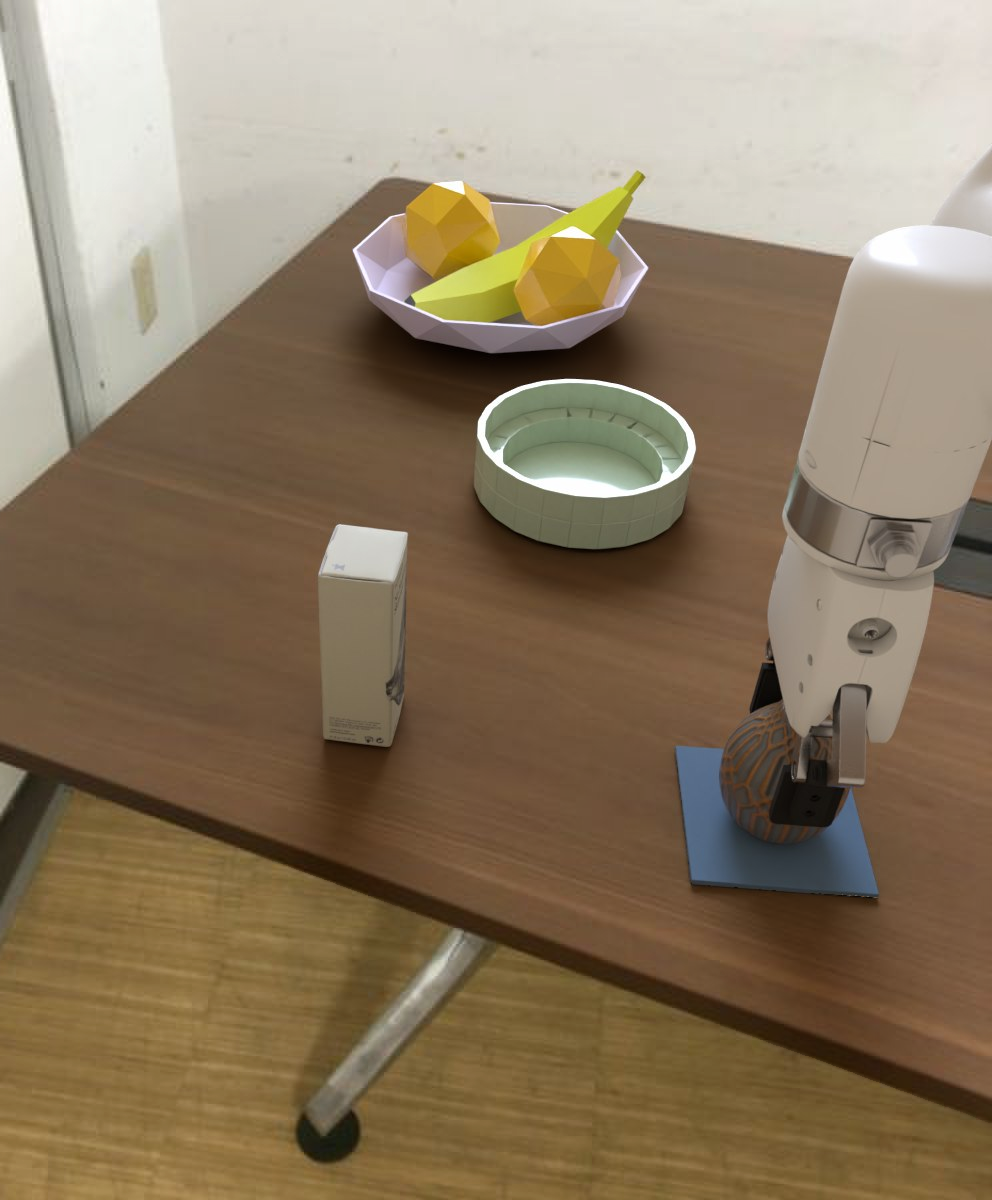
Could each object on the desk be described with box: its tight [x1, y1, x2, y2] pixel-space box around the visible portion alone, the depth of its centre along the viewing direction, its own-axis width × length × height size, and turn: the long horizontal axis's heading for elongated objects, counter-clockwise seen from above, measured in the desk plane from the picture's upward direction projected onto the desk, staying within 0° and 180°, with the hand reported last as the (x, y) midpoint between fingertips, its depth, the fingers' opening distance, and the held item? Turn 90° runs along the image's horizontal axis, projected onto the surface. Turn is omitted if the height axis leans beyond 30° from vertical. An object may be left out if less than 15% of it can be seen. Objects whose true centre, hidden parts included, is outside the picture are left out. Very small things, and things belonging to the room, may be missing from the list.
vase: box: [719, 699, 850, 844], centre depth 68 cm, size 7×7×9 cm
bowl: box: [473, 378, 697, 550], centre depth 95 cm, size 16×16×5 cm
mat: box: [674, 745, 880, 898], centre depth 71 cm, size 10×10×1 cm
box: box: [317, 523, 409, 748], centre depth 73 cm, size 5×4×13 cm
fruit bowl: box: [352, 169, 649, 354], centre depth 114 cm, size 28×27×11 cm
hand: (787, 765), depth 68 cm, fingers closed on vase, 6 cm apart
